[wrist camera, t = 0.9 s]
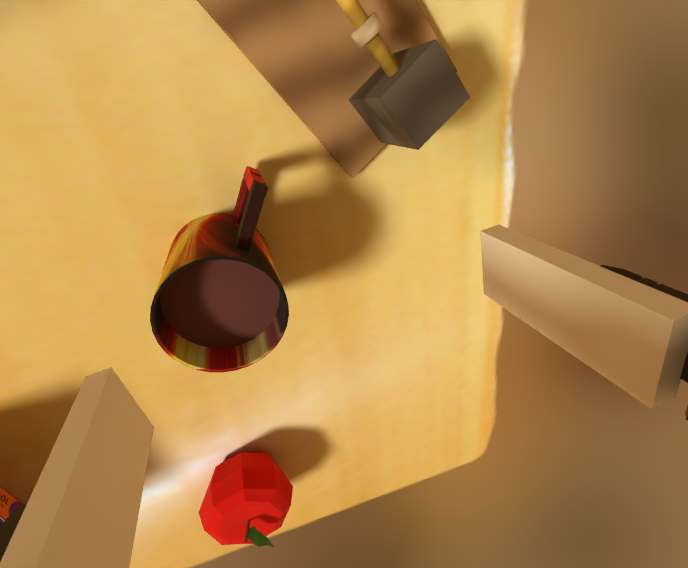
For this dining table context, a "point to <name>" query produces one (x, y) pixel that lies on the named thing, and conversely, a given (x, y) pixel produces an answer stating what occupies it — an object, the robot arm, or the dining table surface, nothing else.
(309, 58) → the threaded rod mounting plate
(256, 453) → the apple
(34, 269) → the dining table surface
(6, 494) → the game box
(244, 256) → the mug
